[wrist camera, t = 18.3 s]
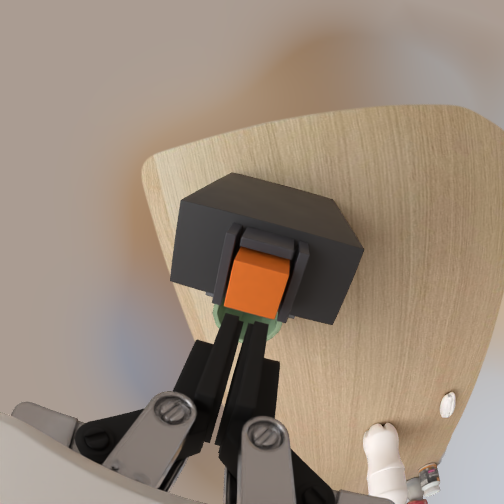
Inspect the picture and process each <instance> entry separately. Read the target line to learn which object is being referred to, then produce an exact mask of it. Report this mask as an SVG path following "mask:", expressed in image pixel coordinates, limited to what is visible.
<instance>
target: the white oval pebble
mask: <svg viewBox="0 0 504 504" xmlns="http://www.w3.org/2000/svg"><path fill="white" fill-rule="evenodd" d="M455 399H456V398H455V394H454V392H450V393H449V394H446V395H445V396H444V397H443V398H442V401H441V405H440V414H441V416H442V417H443V418H445V417H446V418H448V417H449V416H450V415H452V414H453V412H454V409H455Z"/></svg>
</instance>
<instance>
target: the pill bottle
mask: <svg viewBox="0 0 504 504" xmlns="http://www.w3.org/2000/svg"><path fill="white" fill-rule="evenodd" d="M419 477H420V483H421V489H422V490H423V491H425V492H424V496H425V497H428V496H431V495H434V494H436V493H438V492H439V491H440V487H439V486H438V485H439V484H440V479H439V474H438V470H437V465H436V464H435V463H430V464H427V465H425V466H423V467H421V468H420V469H419Z"/></svg>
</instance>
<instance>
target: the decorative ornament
mask: <svg viewBox="0 0 504 504" xmlns="http://www.w3.org/2000/svg"><path fill="white" fill-rule="evenodd" d="M406 484H407V489H408V499H409V502H408V503H407V504H428V503H427V500H426V499H423V494H424V491H423V490H422V489H421V483H420V477H417V478H412V479H410V480H408V481H406Z"/></svg>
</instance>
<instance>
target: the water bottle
mask: <svg viewBox="0 0 504 504" xmlns="http://www.w3.org/2000/svg"><path fill="white" fill-rule="evenodd" d="M363 447H364V451H365V453H366V456H367V461H368V474H367V481H368V491H369V495H370V496H376V497H382V498H387V499H390V500H392V501H393V502H394V503H395V504H406V501H407V499H408V489H407V484H406V478H405V472H404V471H405V468H404V465H403V463H402V461H401V458H400V454H399V448H398V447H399V438H398V433H397V431H396V429H395V427H394V426H393V425H392V424H390V423H386V424H385V425H384V427H383V426H382V425H381V424H380V423H379V424H374V425H373V426H371V427H370V429H369V430H367V431H366V432H365V434H364V438H363Z"/></svg>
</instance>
